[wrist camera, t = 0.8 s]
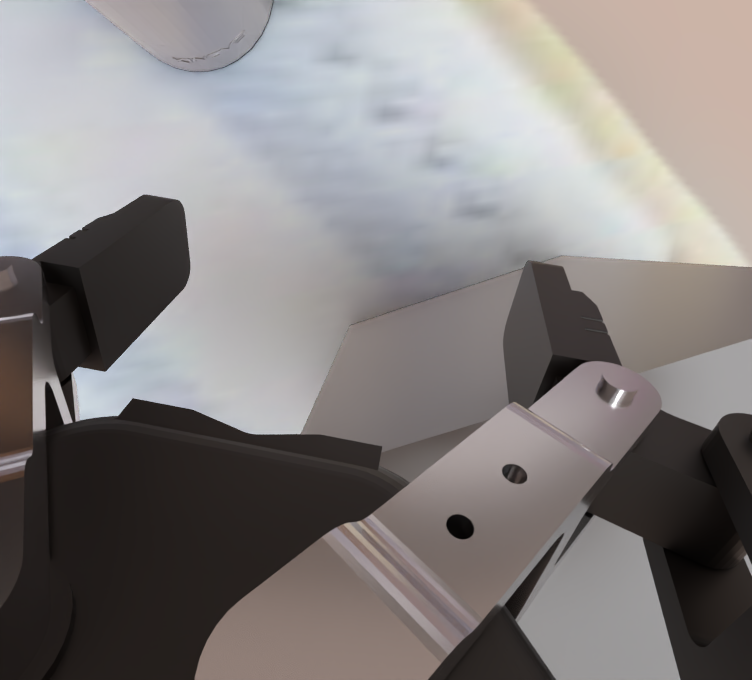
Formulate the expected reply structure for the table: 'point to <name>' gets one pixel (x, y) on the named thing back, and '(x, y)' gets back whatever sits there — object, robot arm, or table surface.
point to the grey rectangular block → (490, 395)
